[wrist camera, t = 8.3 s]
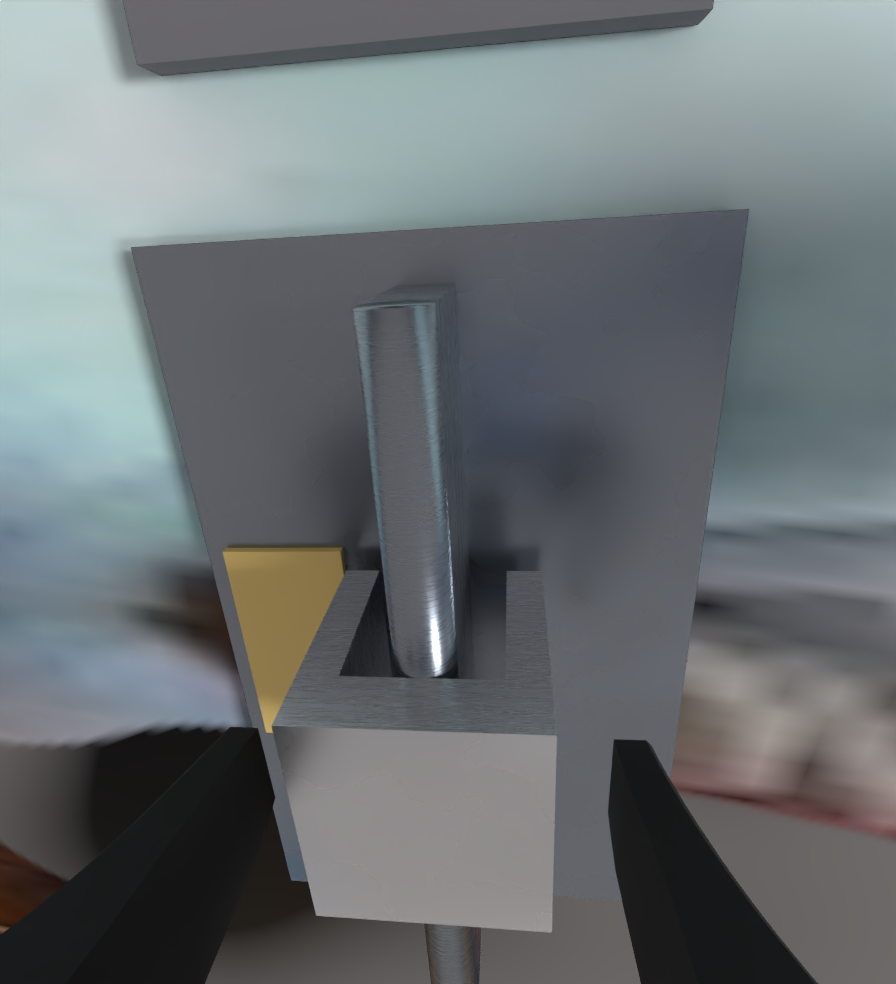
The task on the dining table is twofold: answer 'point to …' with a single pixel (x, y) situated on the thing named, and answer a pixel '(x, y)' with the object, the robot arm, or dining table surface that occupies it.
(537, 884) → the slotted grey block
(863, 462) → the dining table surface
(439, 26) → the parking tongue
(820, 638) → the dining table surface
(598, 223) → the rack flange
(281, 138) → the dining table surface
